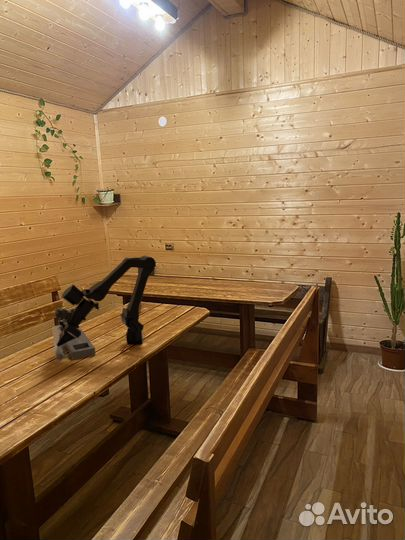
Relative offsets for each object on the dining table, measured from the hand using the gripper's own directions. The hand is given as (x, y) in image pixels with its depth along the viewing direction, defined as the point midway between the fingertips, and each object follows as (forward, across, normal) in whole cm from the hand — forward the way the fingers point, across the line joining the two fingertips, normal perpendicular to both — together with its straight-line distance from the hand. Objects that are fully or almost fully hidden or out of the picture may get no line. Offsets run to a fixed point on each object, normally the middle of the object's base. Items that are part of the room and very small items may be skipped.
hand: (55, 342), depth 158 cm
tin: (-28, -40, +38) cm, 62 cm away
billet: (+4, 0, +6) cm, 7 cm away
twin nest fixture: (-2, -9, +12) cm, 15 cm away
